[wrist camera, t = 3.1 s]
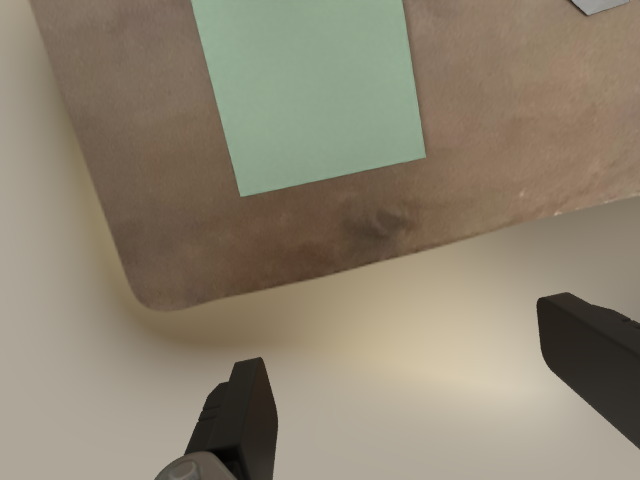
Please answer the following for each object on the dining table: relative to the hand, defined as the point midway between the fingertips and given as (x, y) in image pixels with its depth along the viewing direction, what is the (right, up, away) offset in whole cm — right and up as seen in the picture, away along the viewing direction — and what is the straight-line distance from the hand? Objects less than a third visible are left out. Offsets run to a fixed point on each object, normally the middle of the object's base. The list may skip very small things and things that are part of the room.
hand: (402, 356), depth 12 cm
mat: (-4, +19, +16) cm, 25 cm away
